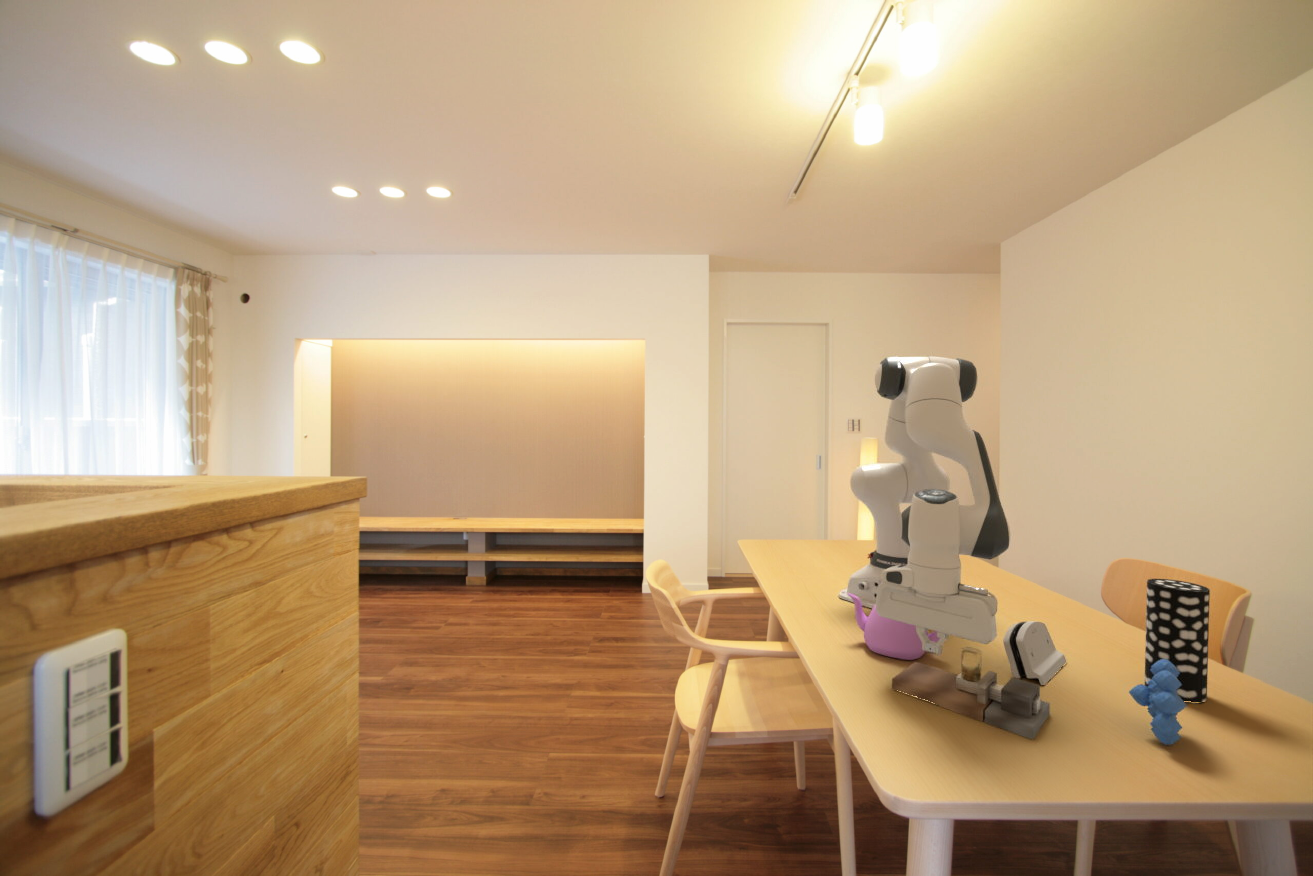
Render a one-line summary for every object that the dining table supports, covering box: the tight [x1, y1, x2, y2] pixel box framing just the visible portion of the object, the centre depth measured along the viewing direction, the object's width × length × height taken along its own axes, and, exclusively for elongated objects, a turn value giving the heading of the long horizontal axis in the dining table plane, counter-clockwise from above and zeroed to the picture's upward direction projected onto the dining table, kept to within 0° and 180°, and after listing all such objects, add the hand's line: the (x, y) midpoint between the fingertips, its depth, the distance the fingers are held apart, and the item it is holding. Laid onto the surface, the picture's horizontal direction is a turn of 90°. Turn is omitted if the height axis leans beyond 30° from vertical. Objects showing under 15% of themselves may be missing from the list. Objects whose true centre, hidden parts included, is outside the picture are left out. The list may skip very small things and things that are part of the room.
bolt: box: [956, 646, 1041, 714], centre depth 93 cm, size 12×3×7 cm, turn 43°
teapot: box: [847, 593, 940, 661], centre depth 119 cm, size 13×20×11 cm, turn 55°
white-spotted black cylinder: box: [1144, 578, 1211, 702], centre depth 100 cm, size 8×8×20 cm
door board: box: [891, 661, 1051, 741], centre depth 96 cm, size 22×11×5 cm, turn 43°
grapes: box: [1128, 659, 1188, 746], centre depth 86 cm, size 12×7×12 cm, turn 140°
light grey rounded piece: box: [1002, 620, 1068, 686], centre depth 110 cm, size 17×5×10 cm, turn 130°
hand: (931, 652), depth 101 cm, fingers closed
